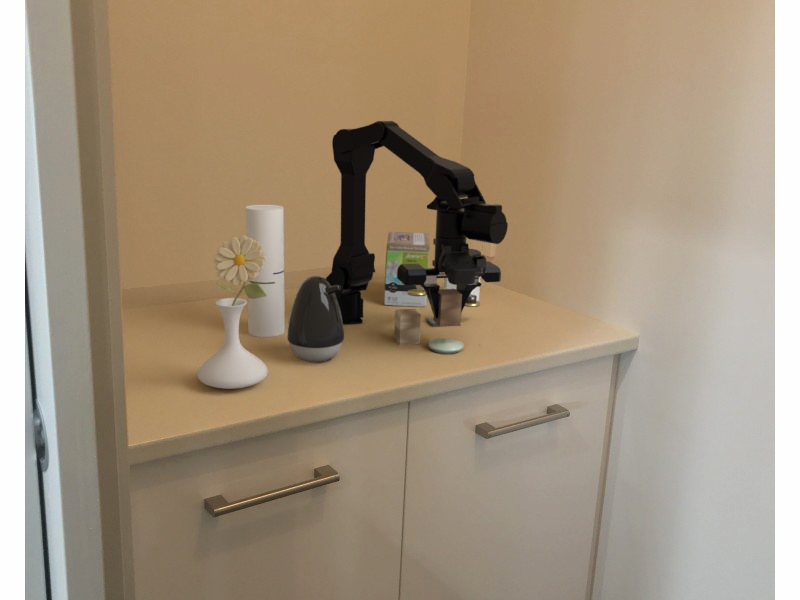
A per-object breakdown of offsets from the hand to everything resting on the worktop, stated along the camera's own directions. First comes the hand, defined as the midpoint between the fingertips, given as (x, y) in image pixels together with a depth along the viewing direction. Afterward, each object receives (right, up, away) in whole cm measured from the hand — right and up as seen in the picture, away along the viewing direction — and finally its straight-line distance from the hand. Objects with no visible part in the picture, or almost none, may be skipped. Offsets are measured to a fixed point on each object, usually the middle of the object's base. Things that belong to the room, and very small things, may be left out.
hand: (446, 317), depth 146 cm
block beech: (-8, -5, +5) cm, 11 cm away
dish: (0, -6, +2) cm, 6 cm away
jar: (+5, +3, +35) cm, 36 cm away
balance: (0, -2, +18) cm, 18 cm away
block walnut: (0, -1, 0) cm, 1 cm away
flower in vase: (-36, -11, -19) cm, 42 cm away
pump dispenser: (-24, -7, -5) cm, 26 cm away
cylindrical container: (-36, -3, +9) cm, 37 cm away
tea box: (-8, +3, +37) cm, 38 cm away
